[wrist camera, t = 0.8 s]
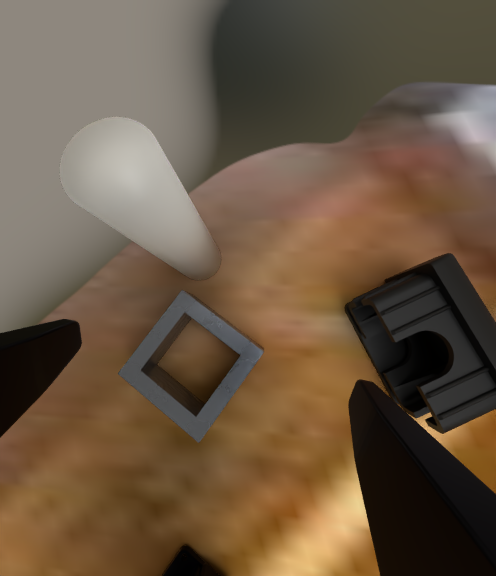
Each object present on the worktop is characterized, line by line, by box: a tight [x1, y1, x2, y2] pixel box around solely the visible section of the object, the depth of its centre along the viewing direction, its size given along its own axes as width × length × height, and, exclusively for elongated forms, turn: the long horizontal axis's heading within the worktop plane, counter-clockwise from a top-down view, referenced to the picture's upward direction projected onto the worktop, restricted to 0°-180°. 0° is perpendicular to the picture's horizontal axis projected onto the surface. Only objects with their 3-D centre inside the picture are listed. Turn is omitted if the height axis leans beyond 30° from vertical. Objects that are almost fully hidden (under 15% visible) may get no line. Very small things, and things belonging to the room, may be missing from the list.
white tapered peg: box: [59, 117, 221, 280], centre depth 17 cm, size 4×4×14 cm
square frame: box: [118, 290, 264, 443], centre depth 21 cm, size 8×8×3 cm
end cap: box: [345, 253, 496, 434], centre depth 18 cm, size 10×7×7 cm
